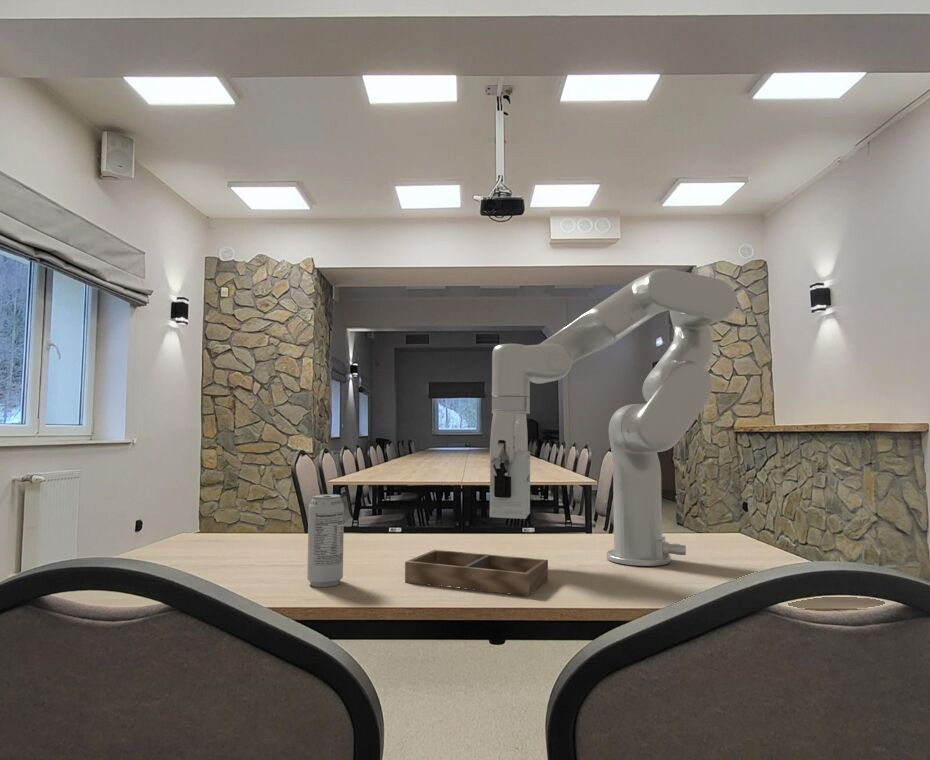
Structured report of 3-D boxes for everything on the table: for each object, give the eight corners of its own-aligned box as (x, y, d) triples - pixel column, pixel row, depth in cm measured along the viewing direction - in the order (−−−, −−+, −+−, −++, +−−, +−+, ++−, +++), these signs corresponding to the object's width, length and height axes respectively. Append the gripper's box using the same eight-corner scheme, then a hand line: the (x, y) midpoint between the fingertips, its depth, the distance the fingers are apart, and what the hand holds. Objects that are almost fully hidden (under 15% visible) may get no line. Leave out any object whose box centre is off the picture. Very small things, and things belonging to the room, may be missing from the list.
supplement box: (527, 519, 118) (527, 452, 119) (488, 517, 119) (488, 451, 120) (531, 513, 125) (531, 450, 126) (494, 512, 126) (494, 450, 127)
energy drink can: (339, 577, 111) (341, 493, 112) (345, 586, 106) (346, 496, 107) (305, 580, 109) (307, 494, 110) (309, 589, 104) (310, 498, 105)
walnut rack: (548, 580, 110) (547, 559, 110) (528, 596, 99) (527, 574, 100) (434, 568, 119) (434, 549, 119) (404, 582, 108) (405, 561, 109)
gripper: (507, 407, 133) (507, 490, 132) (476, 404, 117) (475, 498, 116) (541, 407, 130) (541, 492, 129) (514, 404, 114) (514, 501, 113)
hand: (510, 494), depth 122 cm, fingers closed on supplement box, 8 cm apart
